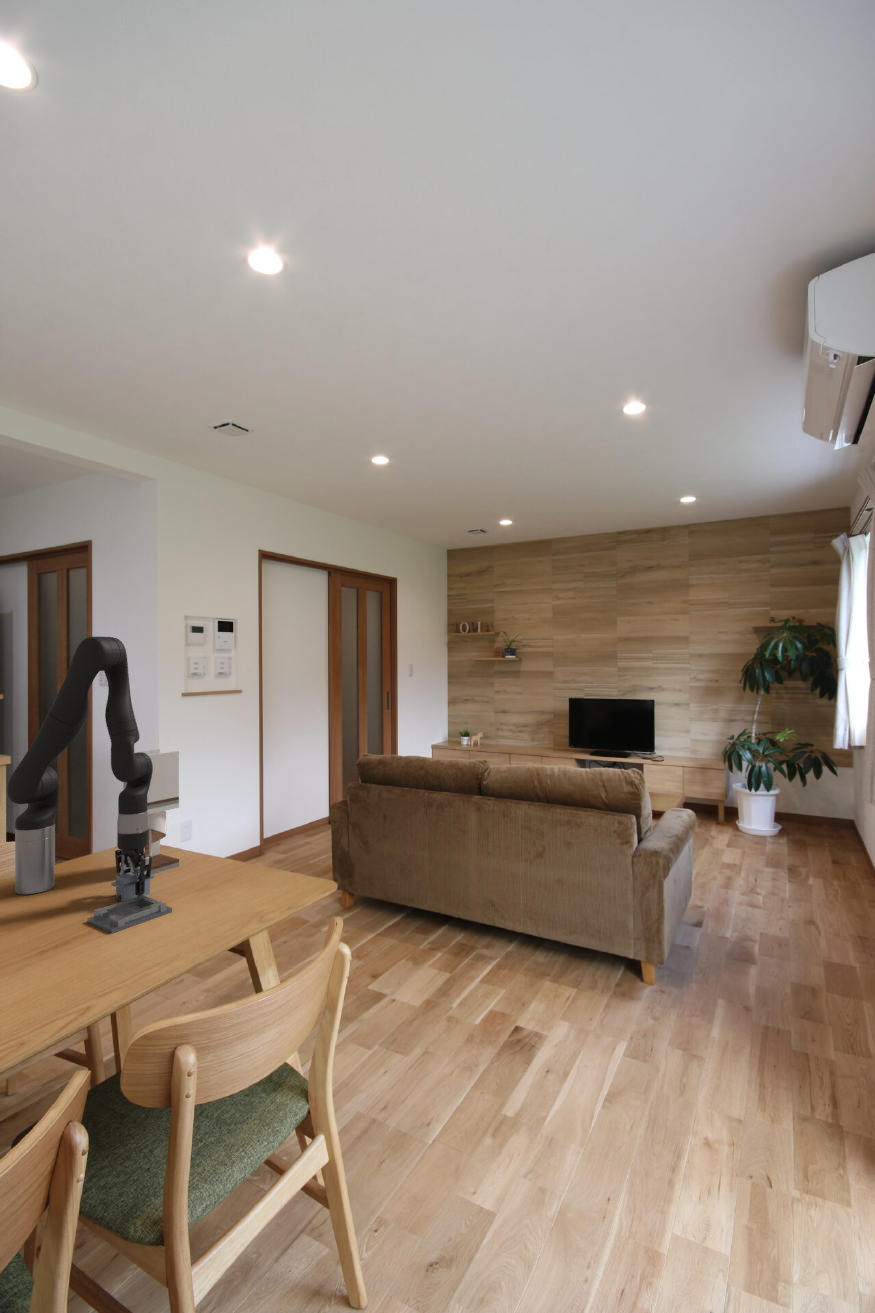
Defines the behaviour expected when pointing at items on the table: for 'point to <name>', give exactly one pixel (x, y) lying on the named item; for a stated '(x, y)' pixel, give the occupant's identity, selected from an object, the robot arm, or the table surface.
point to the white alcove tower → (161, 804)
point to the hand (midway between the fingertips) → (133, 892)
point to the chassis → (128, 913)
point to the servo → (128, 886)
